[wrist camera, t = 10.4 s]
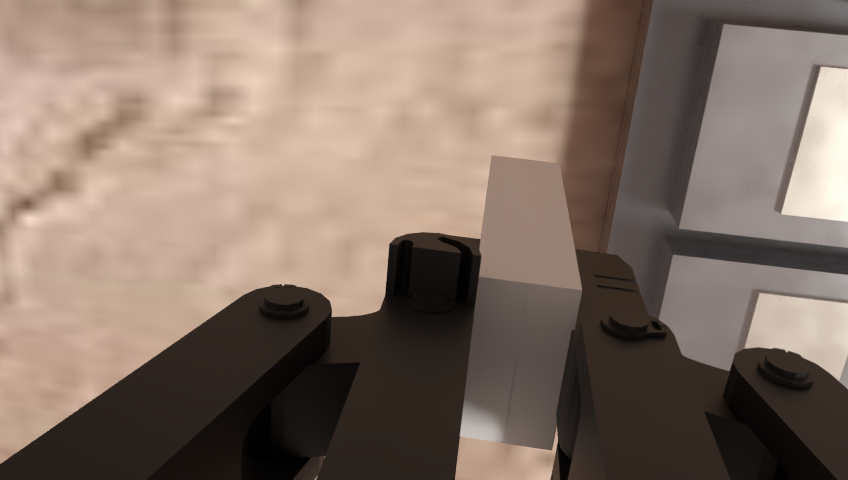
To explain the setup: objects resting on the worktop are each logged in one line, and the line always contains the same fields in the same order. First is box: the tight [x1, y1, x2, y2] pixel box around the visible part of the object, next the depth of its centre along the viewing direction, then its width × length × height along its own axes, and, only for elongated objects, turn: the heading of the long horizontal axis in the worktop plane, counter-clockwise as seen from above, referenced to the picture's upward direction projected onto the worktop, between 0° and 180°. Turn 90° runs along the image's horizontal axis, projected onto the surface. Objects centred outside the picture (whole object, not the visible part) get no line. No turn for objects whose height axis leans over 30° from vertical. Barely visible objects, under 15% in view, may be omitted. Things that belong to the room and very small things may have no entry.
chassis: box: [598, 0, 848, 389], centre depth 27 cm, size 20×14×5 cm
